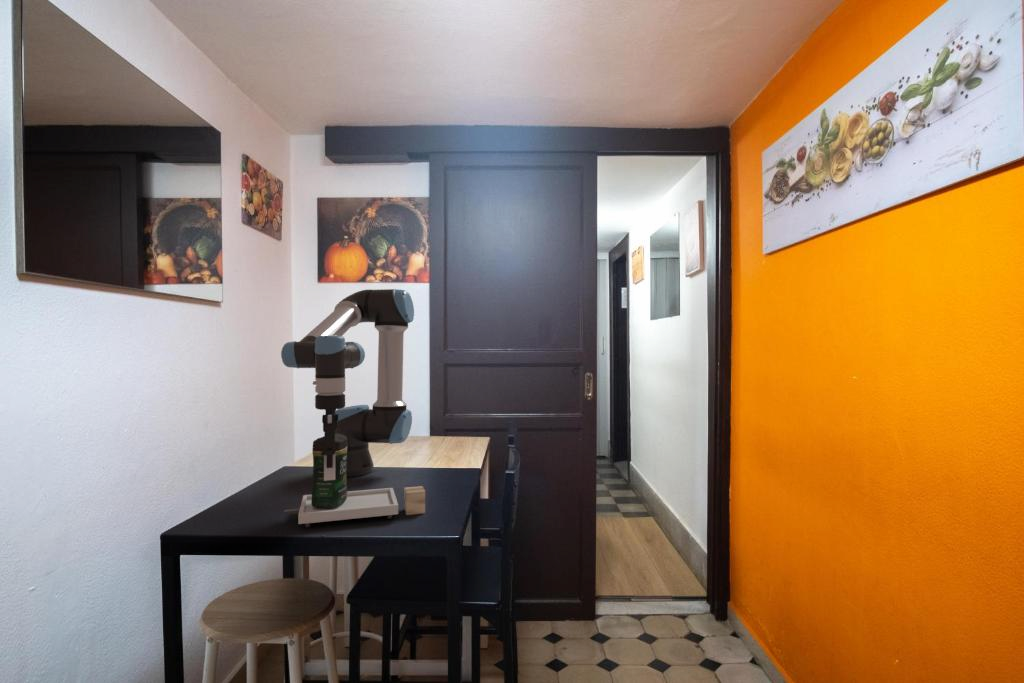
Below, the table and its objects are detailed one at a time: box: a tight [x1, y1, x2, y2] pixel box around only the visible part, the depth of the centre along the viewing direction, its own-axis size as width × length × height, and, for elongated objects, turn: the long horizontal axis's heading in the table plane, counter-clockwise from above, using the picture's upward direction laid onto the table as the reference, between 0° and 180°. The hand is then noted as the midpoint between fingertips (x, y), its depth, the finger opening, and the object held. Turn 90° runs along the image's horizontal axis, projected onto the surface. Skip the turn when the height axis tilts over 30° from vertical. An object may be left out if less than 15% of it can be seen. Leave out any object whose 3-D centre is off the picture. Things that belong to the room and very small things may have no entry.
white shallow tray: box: [283, 487, 399, 528], centre depth 134 cm, size 16×28×4 cm, turn 108°
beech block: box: [403, 485, 426, 516], centre depth 139 cm, size 5×5×6 cm
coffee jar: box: [311, 433, 348, 509], centre depth 135 cm, size 10×8×19 cm
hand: (330, 472), depth 135 cm, fingers open, 13 cm apart
